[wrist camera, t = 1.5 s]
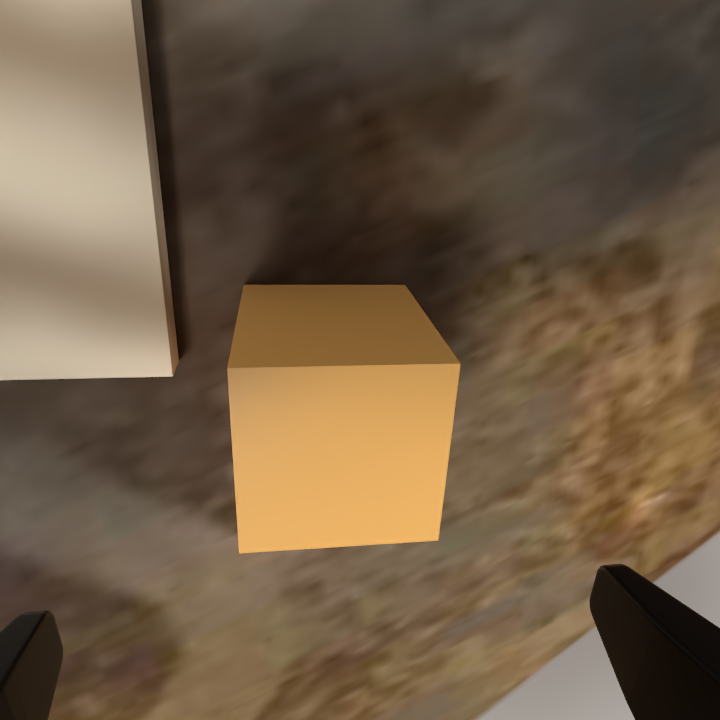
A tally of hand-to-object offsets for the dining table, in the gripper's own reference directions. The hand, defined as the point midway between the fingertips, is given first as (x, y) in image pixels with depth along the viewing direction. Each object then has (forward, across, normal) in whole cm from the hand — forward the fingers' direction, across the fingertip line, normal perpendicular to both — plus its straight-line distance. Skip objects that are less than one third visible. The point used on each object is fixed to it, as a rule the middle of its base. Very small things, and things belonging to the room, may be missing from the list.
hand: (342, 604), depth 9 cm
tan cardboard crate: (+11, 0, +1) cm, 11 cm away
